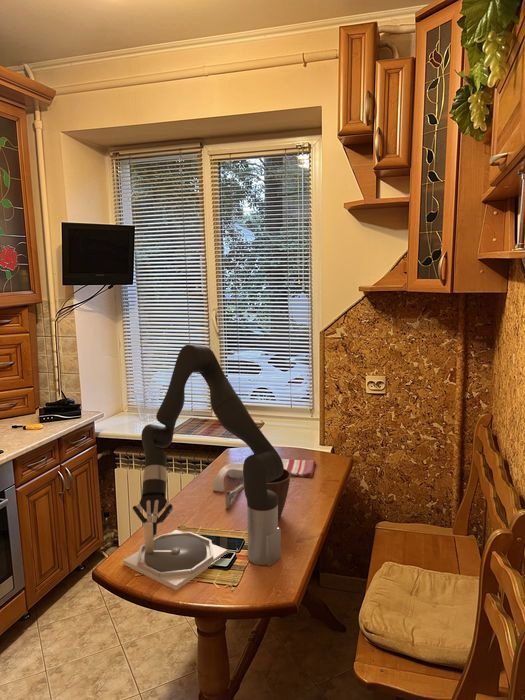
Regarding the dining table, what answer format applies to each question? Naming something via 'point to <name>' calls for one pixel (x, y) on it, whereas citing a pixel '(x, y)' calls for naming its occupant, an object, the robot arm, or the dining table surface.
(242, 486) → the caliper
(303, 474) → the dish towel
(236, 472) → the spoon rest
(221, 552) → the dial plate
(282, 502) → the plant pot
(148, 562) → the dial
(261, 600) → the dining table surface
